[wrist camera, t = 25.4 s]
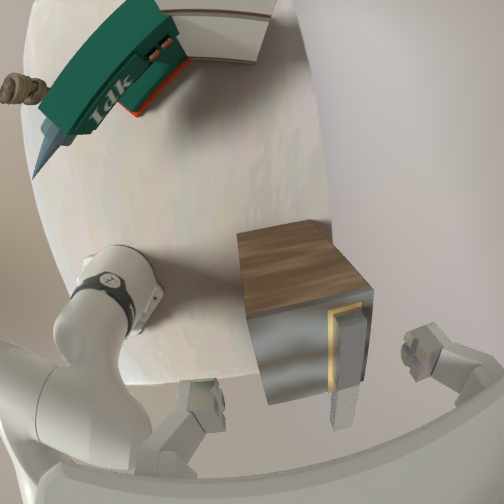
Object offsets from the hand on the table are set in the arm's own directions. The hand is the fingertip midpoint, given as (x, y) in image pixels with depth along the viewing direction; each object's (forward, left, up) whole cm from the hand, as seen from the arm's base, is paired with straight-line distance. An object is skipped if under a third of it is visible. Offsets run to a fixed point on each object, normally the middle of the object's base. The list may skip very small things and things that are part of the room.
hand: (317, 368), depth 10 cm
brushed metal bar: (-13, -19, -15) cm, 27 cm away
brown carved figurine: (+3, +45, -42) cm, 61 cm away
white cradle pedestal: (+24, +16, -41) cm, 50 cm away
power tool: (+7, +25, -42) cm, 49 cm away
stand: (-11, -13, -41) cm, 45 cm away
